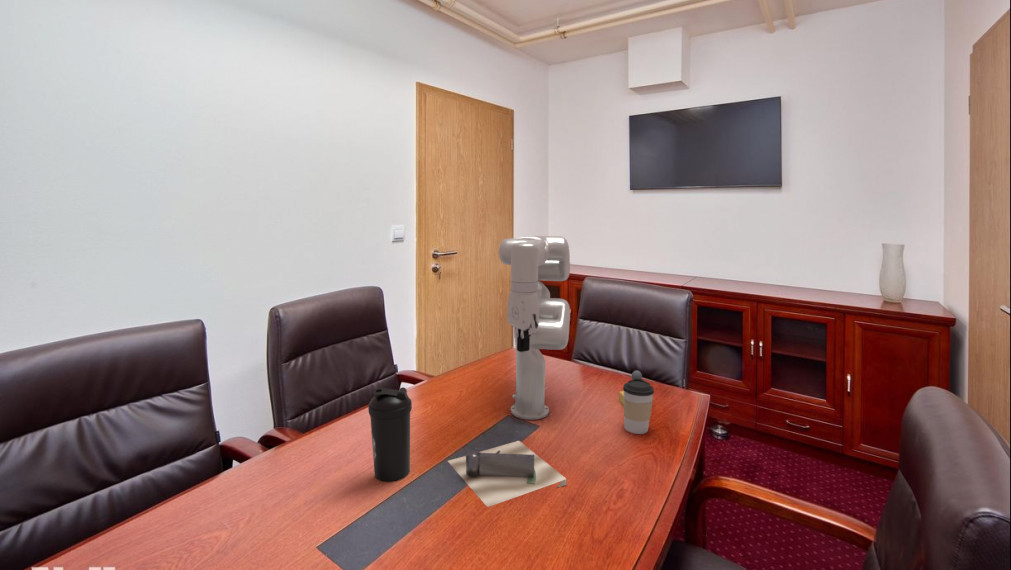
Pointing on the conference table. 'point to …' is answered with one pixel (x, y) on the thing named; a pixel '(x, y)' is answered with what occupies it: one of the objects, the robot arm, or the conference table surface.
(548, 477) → the dial plate
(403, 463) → the water bottle
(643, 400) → the coffee cup
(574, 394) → the conference table surface
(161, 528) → the conference table surface
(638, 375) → the rubber stamp
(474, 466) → the pointer lever
